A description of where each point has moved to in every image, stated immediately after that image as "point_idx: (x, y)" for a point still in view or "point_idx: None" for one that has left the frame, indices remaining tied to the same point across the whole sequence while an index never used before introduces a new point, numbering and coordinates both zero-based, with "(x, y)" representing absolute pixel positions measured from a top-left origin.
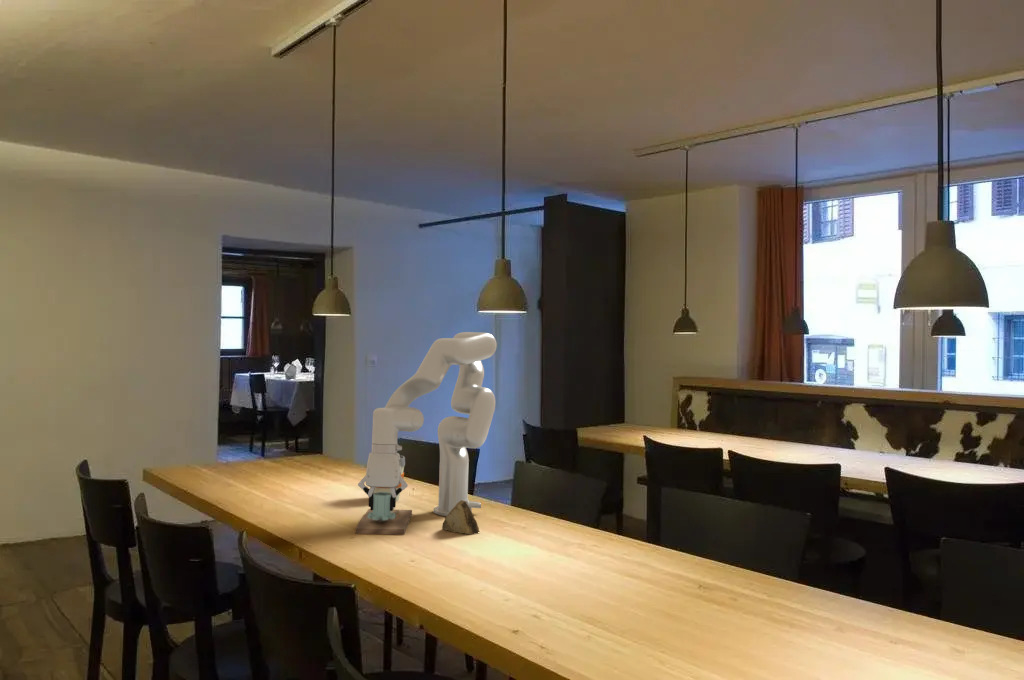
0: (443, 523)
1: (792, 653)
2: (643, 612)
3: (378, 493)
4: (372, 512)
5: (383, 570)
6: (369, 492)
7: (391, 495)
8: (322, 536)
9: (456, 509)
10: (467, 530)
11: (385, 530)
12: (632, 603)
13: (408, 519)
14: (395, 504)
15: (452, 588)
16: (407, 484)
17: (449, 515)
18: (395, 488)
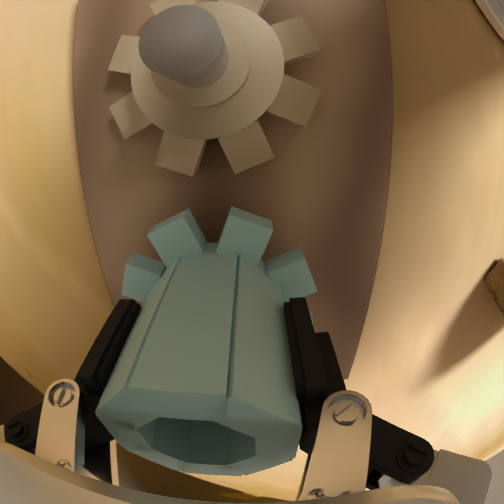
0: (497, 303)
1: (488, 456)
2: (474, 456)
3: (141, 425)
4: (139, 279)
5: (288, 488)
6: (92, 457)
7: (300, 446)
8: None
9: None
10: None
11: None
12: (480, 450)
13: (386, 184)
14: (329, 348)
15: (365, 489)
16: (487, 479)
17: None
18: (360, 478)
